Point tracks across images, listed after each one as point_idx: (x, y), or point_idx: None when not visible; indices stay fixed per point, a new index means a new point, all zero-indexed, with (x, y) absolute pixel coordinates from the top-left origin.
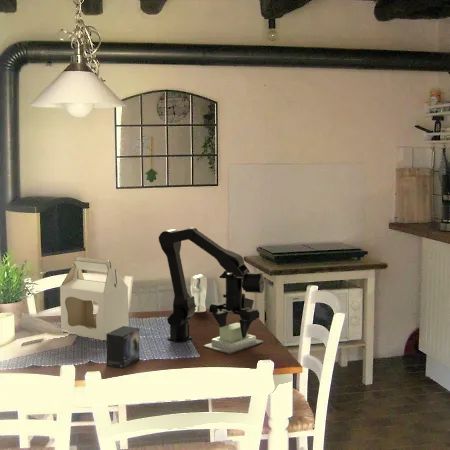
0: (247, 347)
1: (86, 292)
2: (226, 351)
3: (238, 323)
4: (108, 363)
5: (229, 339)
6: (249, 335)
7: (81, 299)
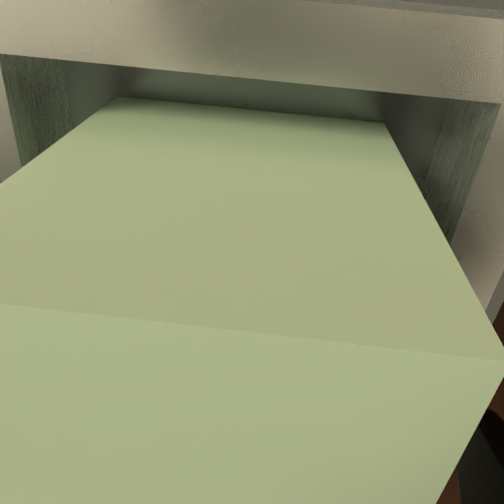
0: (489, 309)
1: None
2: None
3: (38, 363)
4: None
5: None
6: (421, 87)
7: None
